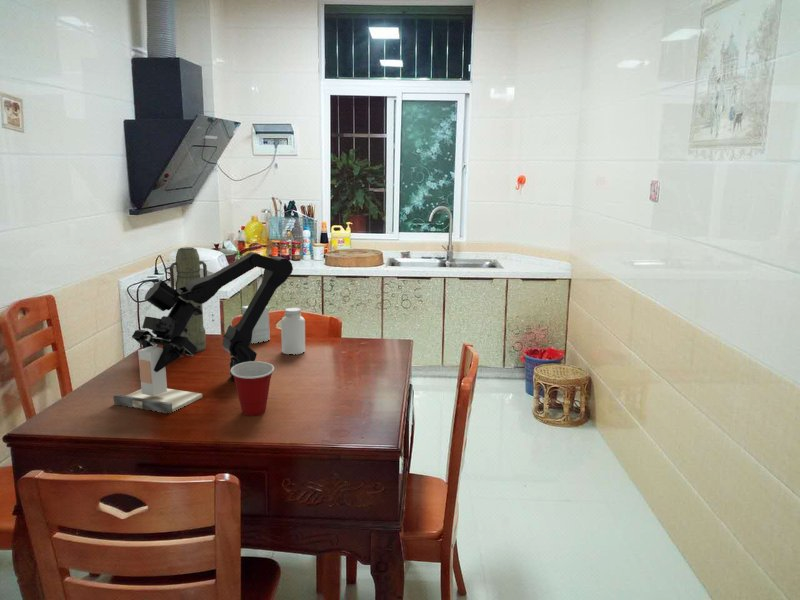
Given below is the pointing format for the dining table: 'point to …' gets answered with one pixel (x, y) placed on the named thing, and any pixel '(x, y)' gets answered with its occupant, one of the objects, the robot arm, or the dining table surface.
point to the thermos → (186, 272)
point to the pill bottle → (293, 332)
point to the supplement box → (260, 327)
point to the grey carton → (151, 371)
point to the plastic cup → (252, 385)
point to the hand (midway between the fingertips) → (148, 370)
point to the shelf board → (158, 400)
